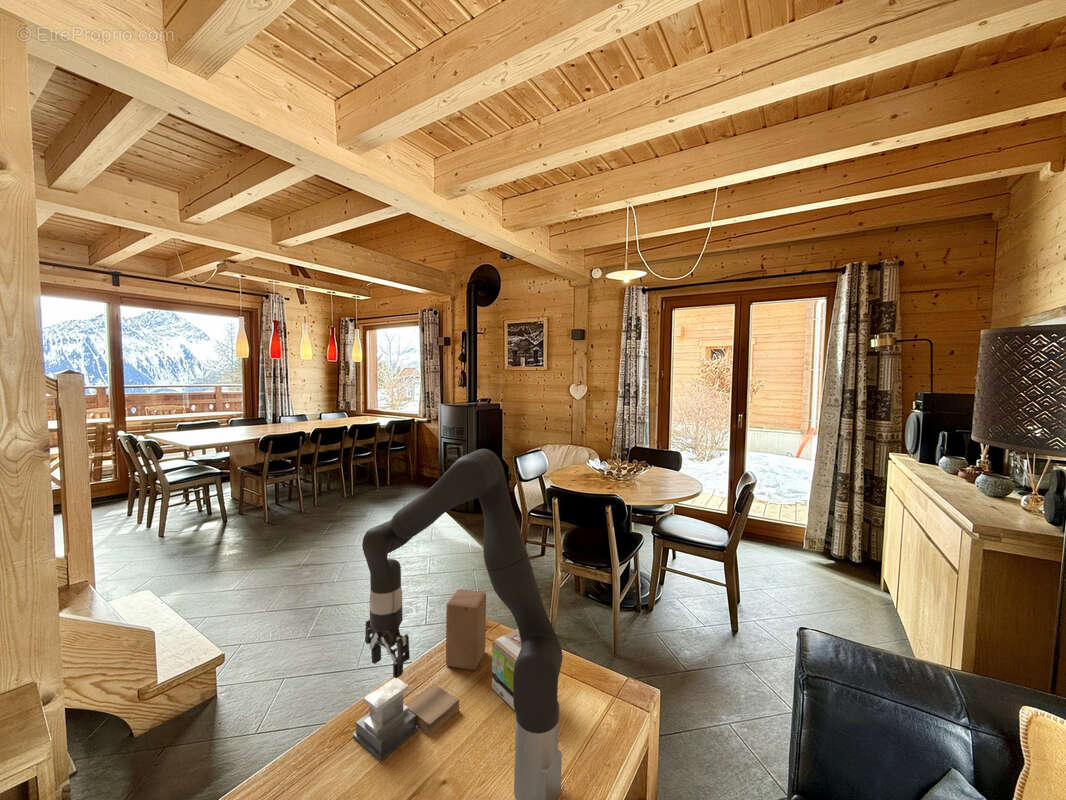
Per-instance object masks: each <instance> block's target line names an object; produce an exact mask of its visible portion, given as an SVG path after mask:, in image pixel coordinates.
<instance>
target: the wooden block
mask: <svg viewBox="0 0 1066 800" xmlns="http://www.w3.org/2000/svg"><path fill="white" fill-rule="evenodd" d="M446 603H447V604H446V614H445V617H446V618H445V619H446V620H445V625H446V626H445V633H446V634H445V639H446V640H445V642H446V643H445V664H446V666H448V667H452V668H458V669H463V670H469V671H476V670H477V668H478V667H479V664H480V662H481V659H482V658H483V656H484V654H485V652H486V627H487V625H486V624H487V621H486V620H487V594H486V592H484V591H478V590H470V589H469V590H468V589H465V588H463V589H462V588H459V589H457V590H456V591H455V592H454V594H453V595H452V596H451V598H450V599H449V600H448V601H447V602H446Z"/></svg>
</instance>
